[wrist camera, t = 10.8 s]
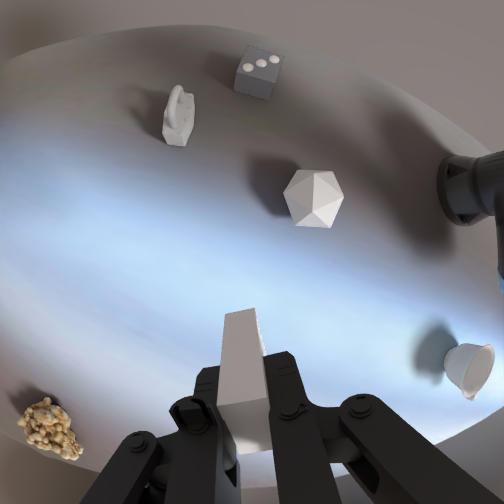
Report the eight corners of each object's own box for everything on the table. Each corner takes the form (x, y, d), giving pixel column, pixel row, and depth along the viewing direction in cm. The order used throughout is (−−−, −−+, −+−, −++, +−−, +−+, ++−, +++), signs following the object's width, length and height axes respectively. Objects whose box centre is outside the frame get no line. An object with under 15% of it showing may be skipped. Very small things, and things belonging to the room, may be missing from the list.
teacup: (432, 399, 49) (458, 416, 39) (433, 348, 47) (464, 363, 38) (465, 374, 50) (490, 387, 40) (466, 324, 49) (496, 334, 39)
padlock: (188, 147, 40) (181, 121, 30) (163, 144, 40) (150, 118, 30) (198, 107, 40) (195, 75, 30) (174, 105, 39) (165, 72, 29)
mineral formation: (90, 450, 39) (37, 440, 36) (73, 394, 41) (20, 388, 38) (78, 468, 31) (22, 454, 28) (56, 408, 33) (0, 398, 30)
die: (289, 238, 43) (345, 241, 36) (260, 197, 38) (320, 193, 31) (309, 200, 46) (361, 199, 40) (285, 161, 41) (340, 152, 34)
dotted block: (277, 75, 41) (285, 55, 35) (268, 101, 41) (275, 82, 35) (242, 65, 41) (246, 44, 34) (232, 90, 41) (235, 71, 34)
